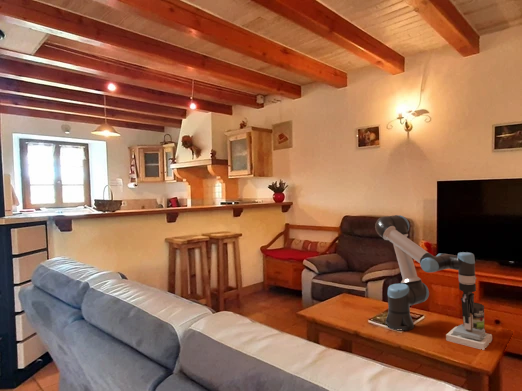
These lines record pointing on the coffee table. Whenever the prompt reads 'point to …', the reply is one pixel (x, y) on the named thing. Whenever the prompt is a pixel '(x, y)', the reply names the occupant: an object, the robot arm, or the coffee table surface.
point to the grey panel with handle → (469, 332)
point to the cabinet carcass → (469, 340)
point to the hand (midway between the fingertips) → (468, 328)
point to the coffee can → (478, 316)
